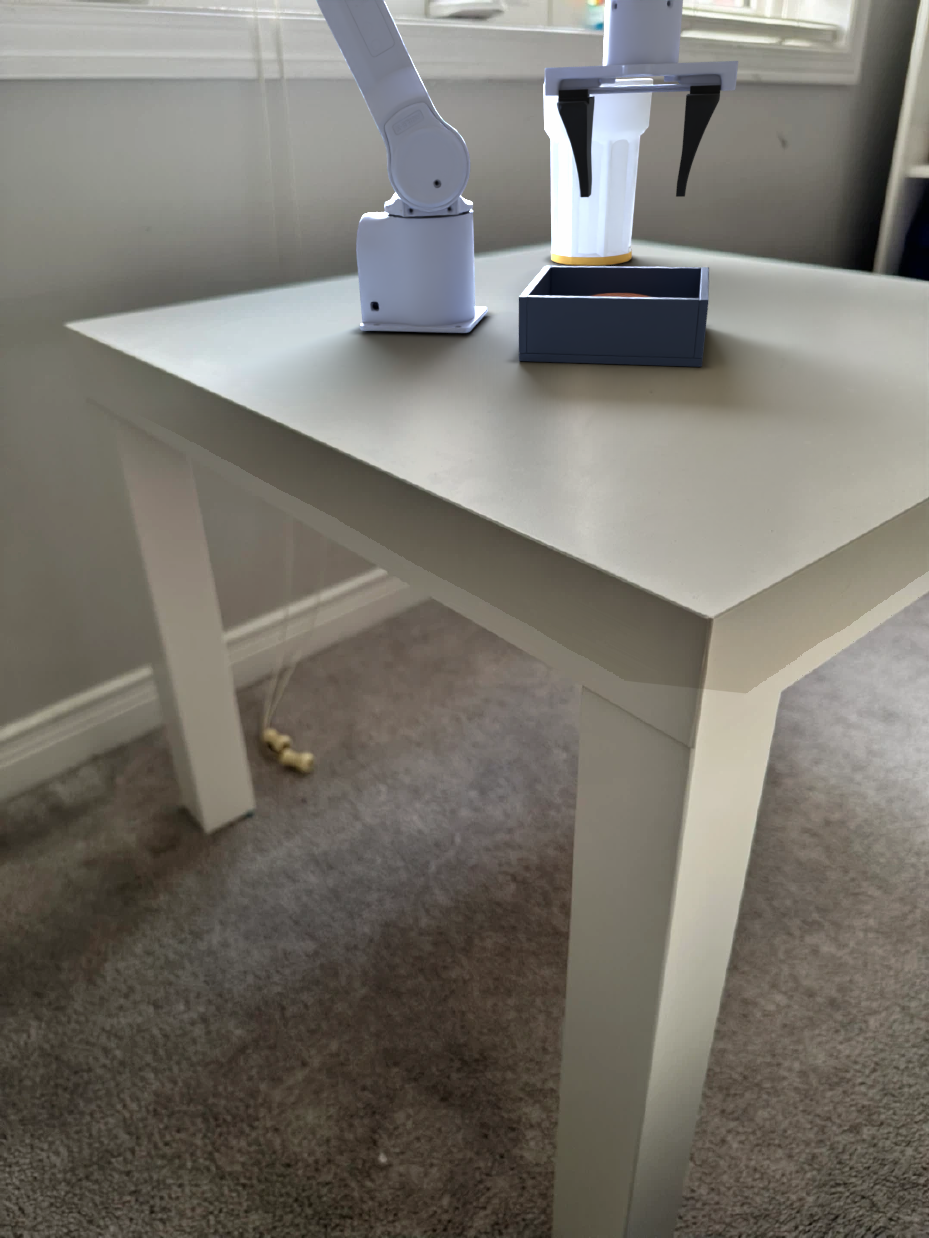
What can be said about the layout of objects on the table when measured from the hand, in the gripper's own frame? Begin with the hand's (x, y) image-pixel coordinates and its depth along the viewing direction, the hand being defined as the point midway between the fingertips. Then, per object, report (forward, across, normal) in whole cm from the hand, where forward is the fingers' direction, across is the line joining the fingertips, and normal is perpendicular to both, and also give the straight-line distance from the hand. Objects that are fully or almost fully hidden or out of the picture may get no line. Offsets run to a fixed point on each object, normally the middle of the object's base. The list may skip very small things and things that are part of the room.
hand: (632, 195), depth 75 cm
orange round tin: (+9, 0, -10) cm, 13 cm away
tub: (+9, 0, -10) cm, 14 cm away
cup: (+10, -6, +27) cm, 29 cm away
